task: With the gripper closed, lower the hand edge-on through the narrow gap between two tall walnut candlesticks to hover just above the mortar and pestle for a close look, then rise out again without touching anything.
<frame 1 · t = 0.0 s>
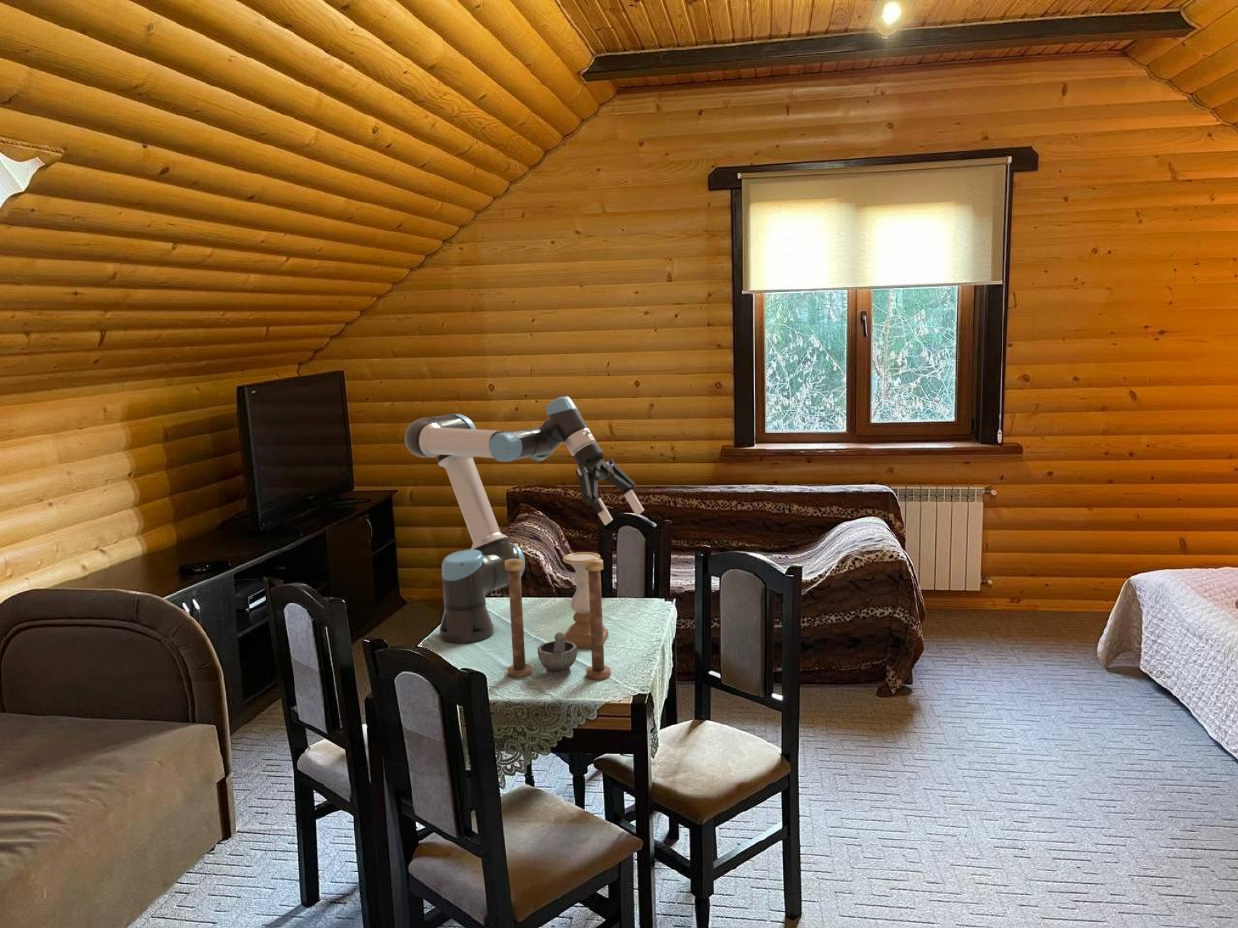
hand: (625, 517, 242), 36 cm above the table, tool tilted 35°, fingers open, 13 cm apart
candle holder: (585, 641, 256), on the table
left candlestick: (519, 673, 233), on the table
mortar and pestle: (558, 675, 232), on the table
right candlestick: (598, 675, 230), on the table
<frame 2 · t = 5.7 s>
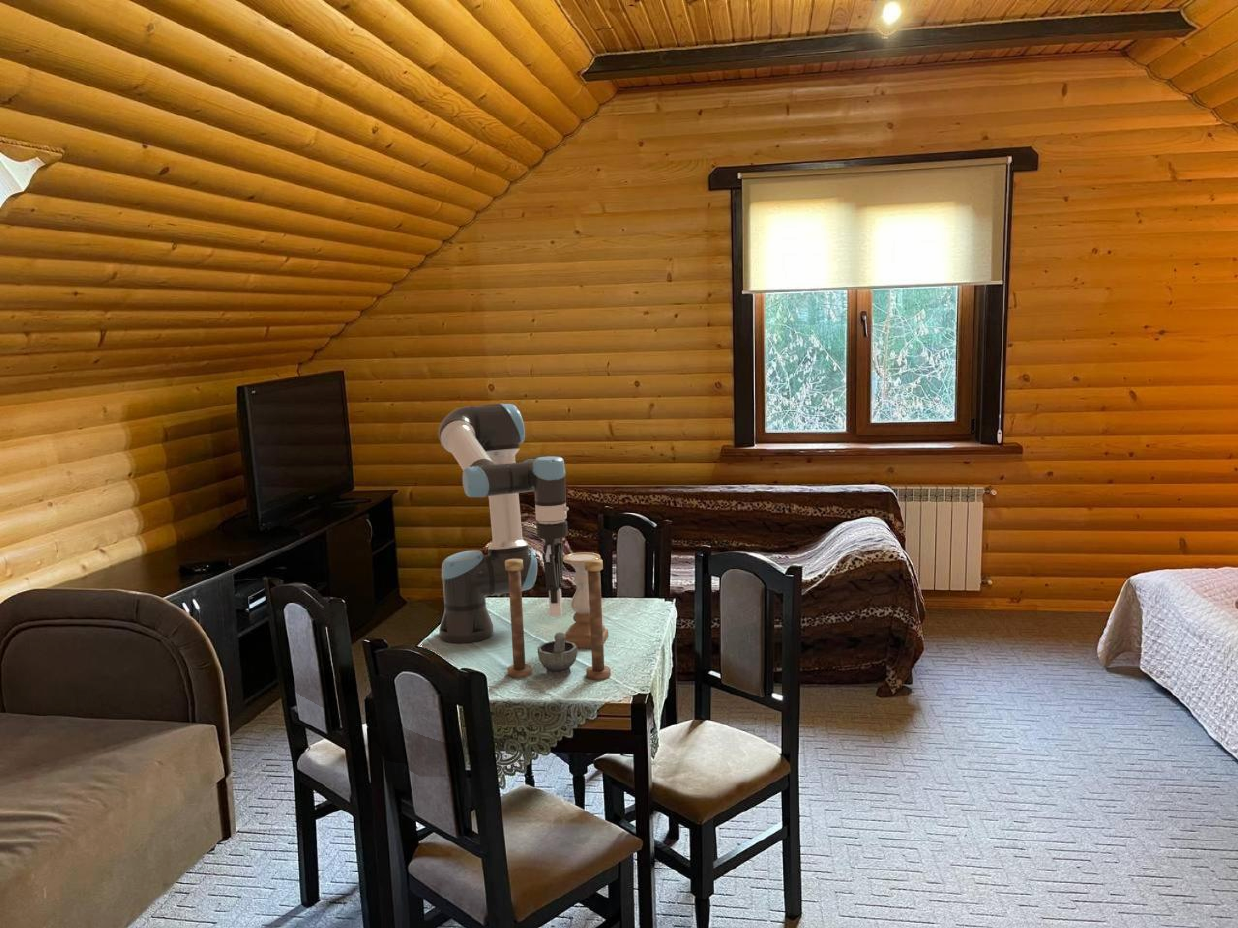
hand: (556, 614, 230), 15 cm above the table, tool pointing down, fingers closed
nothing on the table moved.
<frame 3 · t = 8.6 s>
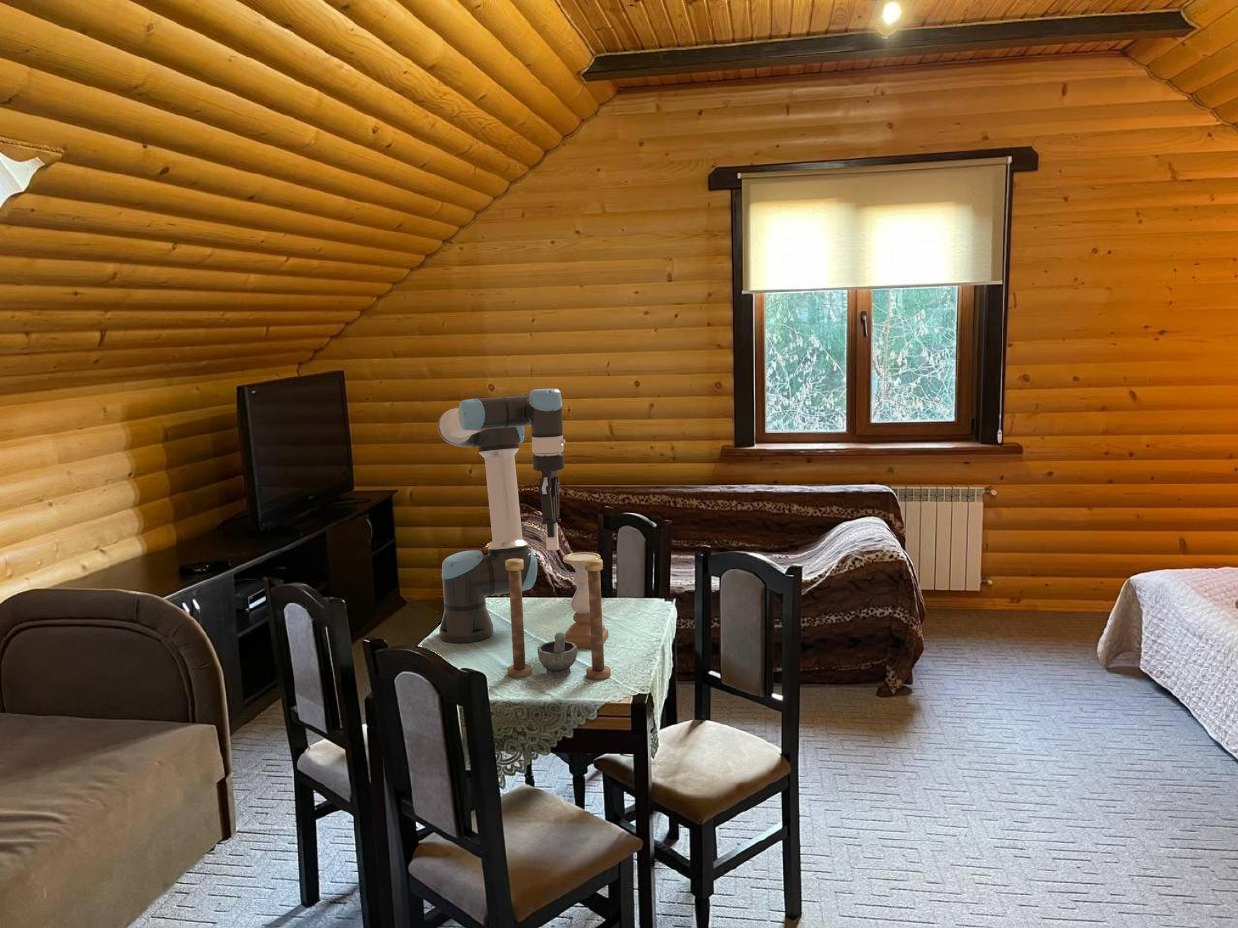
hand: (552, 549, 227), 32 cm above the table, tool pointing down, fingers closed
nothing on the table moved.
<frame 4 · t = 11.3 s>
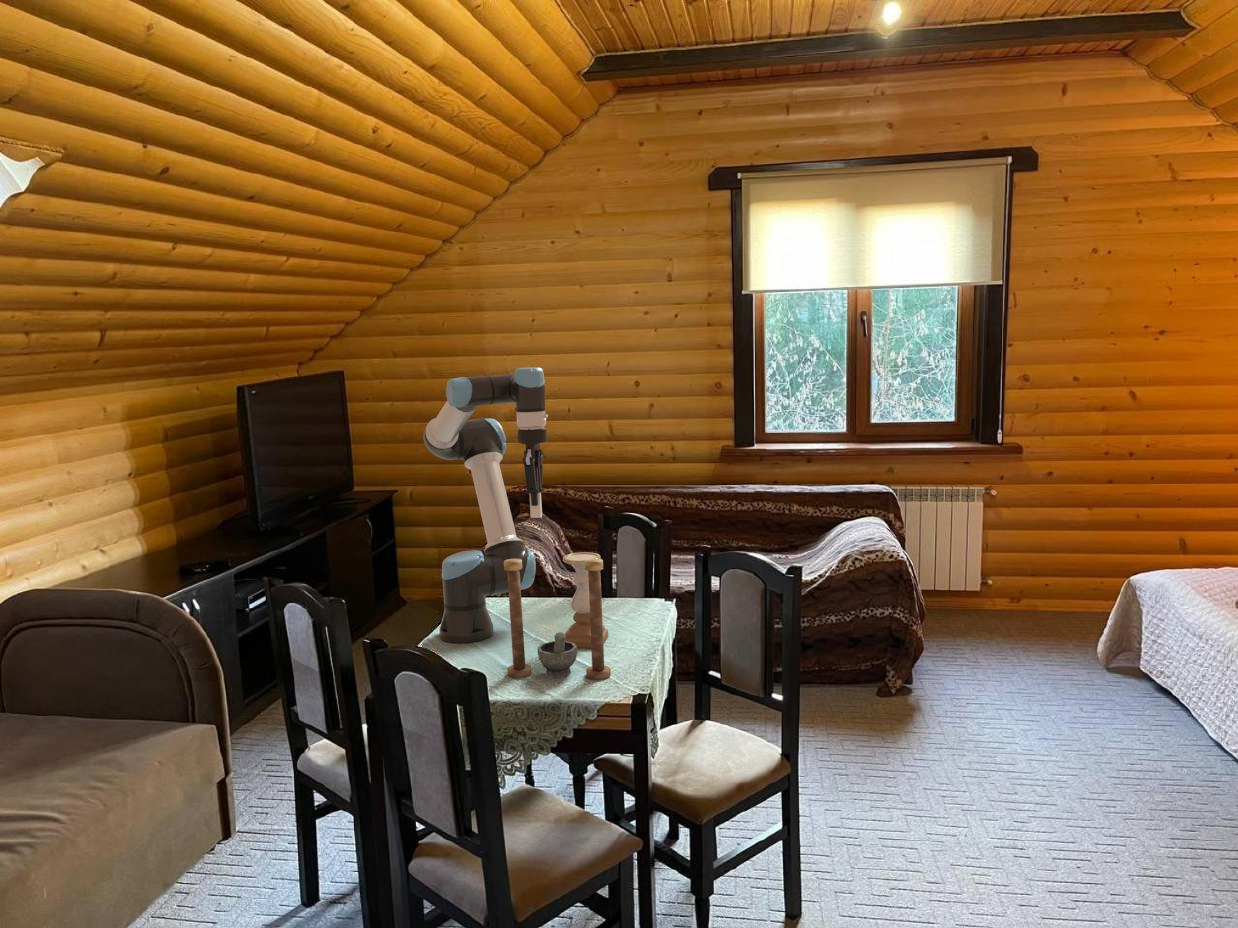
hand: (536, 517, 245), 36 cm above the table, tool pointing down, fingers closed
nothing on the table moved.
at the end: mortar and pestle moved 0.2 cm from its start; left candlestick tilted 0°; right candlestick tilted 0° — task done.
